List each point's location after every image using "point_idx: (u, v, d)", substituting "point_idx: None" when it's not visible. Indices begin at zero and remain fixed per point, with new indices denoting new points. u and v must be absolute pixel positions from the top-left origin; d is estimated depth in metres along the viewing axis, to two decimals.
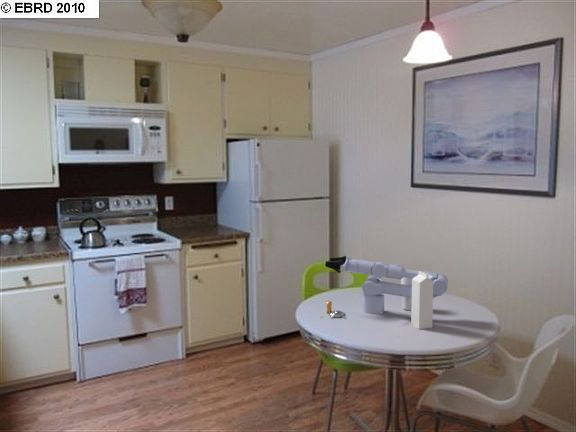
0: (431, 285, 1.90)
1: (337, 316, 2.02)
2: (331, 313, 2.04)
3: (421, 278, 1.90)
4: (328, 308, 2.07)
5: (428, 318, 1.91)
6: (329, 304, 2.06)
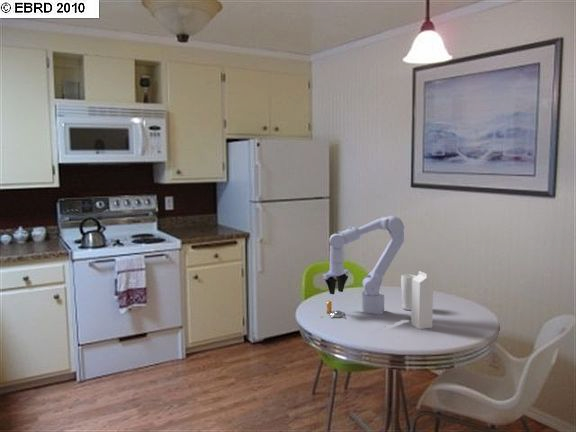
0: (431, 285, 1.90)
1: (337, 316, 2.02)
2: (331, 313, 2.04)
3: (421, 278, 1.90)
4: (328, 308, 2.07)
5: (428, 318, 1.91)
6: (329, 304, 2.06)
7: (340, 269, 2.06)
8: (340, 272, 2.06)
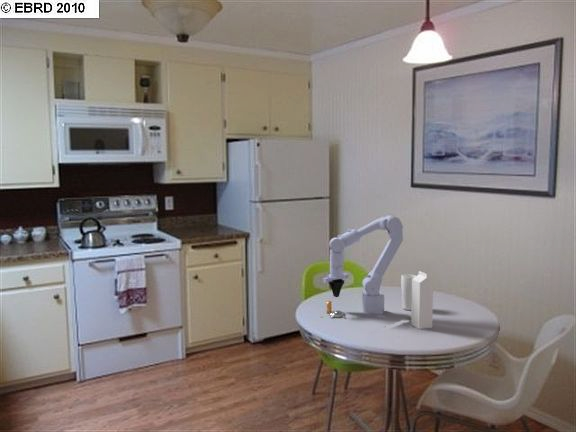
0: (431, 285, 1.90)
1: (337, 316, 2.02)
2: (331, 313, 2.04)
3: (421, 278, 1.90)
4: (328, 308, 2.07)
5: (428, 318, 1.91)
6: (329, 304, 2.06)
7: (340, 273, 2.06)
8: (340, 276, 2.07)
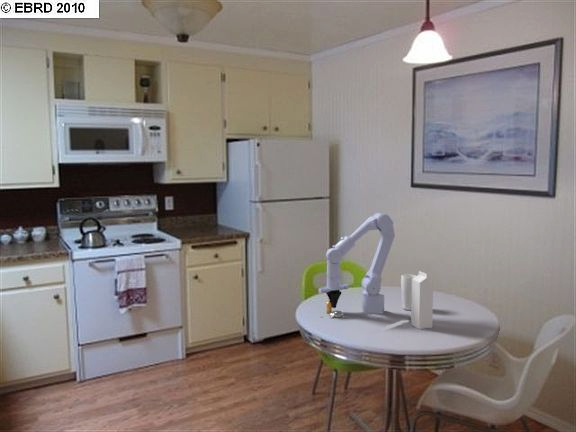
0: (431, 285, 1.90)
1: (337, 316, 2.02)
2: (331, 313, 2.04)
3: (421, 278, 1.90)
4: (328, 308, 2.07)
5: (428, 318, 1.91)
6: (329, 304, 2.06)
7: (336, 284, 2.05)
8: (336, 287, 2.05)
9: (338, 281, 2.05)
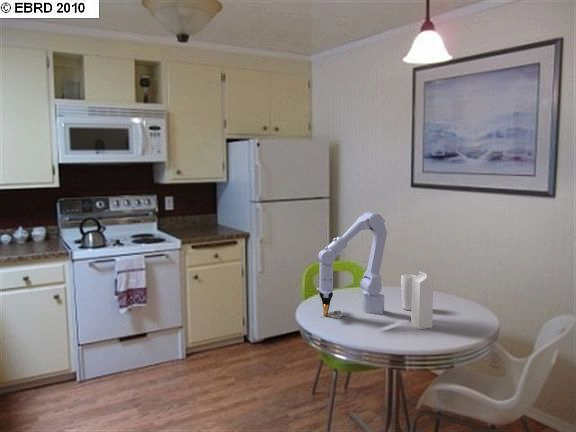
0: (431, 285, 1.90)
1: (341, 316, 2.02)
2: (333, 314, 2.02)
3: (421, 278, 1.90)
4: (326, 311, 2.03)
5: (428, 318, 1.91)
6: (327, 306, 2.03)
7: (332, 285, 2.04)
8: (332, 288, 2.04)
9: None
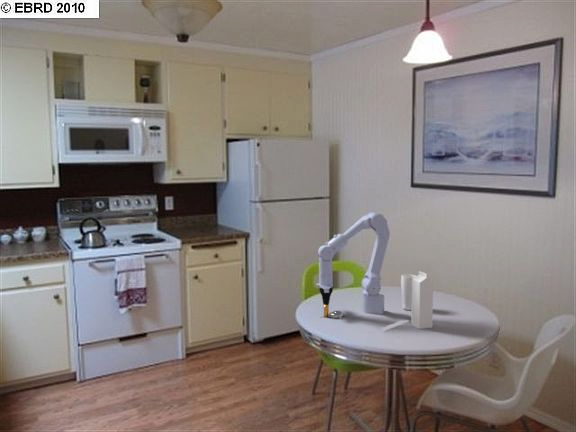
0: (431, 285, 1.90)
1: (342, 315, 2.02)
2: (334, 315, 2.02)
3: (421, 278, 1.90)
4: (327, 311, 2.02)
5: (428, 318, 1.91)
6: (328, 307, 2.02)
7: (332, 280, 2.06)
8: (332, 283, 2.06)
9: None
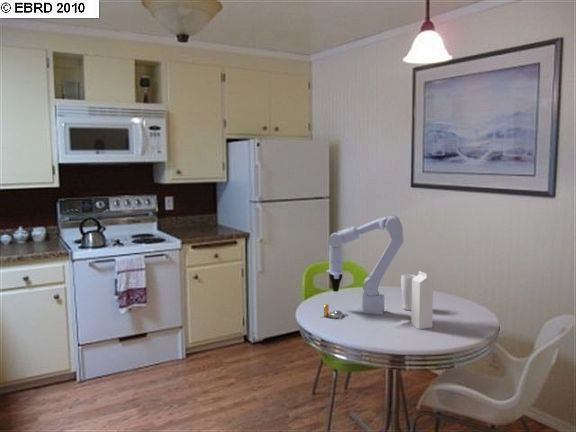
0: (431, 285, 1.90)
1: (342, 315, 2.02)
2: (334, 315, 2.02)
3: (421, 278, 1.90)
4: (327, 311, 2.02)
5: (428, 318, 1.91)
6: (328, 307, 2.02)
7: None
8: (342, 270, 2.11)
9: None
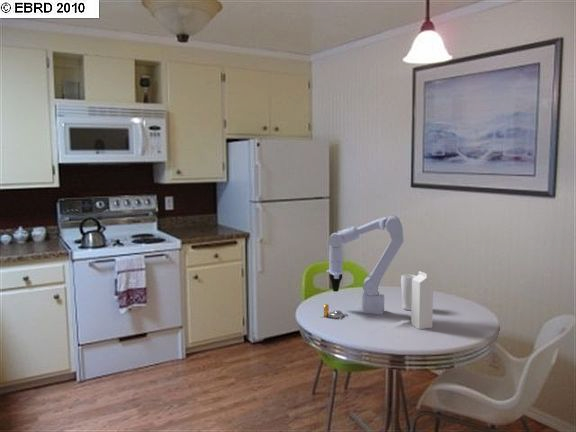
0: (431, 285, 1.90)
1: (342, 315, 2.02)
2: (334, 315, 2.02)
3: (421, 278, 1.90)
4: (327, 311, 2.02)
5: (428, 318, 1.91)
6: (328, 307, 2.02)
7: None
8: (342, 270, 2.11)
9: None
